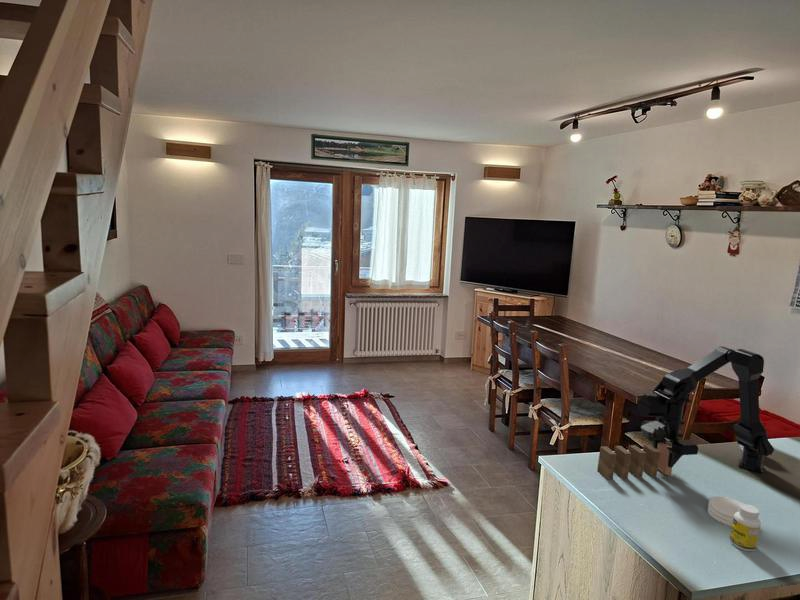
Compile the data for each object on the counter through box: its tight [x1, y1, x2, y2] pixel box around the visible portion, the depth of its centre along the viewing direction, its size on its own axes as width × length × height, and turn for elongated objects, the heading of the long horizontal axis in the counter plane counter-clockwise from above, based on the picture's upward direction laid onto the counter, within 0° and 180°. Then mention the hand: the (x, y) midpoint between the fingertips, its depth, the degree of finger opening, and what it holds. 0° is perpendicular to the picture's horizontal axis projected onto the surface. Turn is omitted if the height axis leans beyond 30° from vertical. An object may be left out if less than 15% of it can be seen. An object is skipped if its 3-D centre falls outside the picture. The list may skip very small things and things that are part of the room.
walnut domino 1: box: [596, 445, 616, 480], centre depth 154 cm, size 2×5×8 cm, turn 12°
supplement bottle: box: [729, 503, 762, 552], centre depth 123 cm, size 5×5×10 cm
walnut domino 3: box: [628, 444, 646, 478], centre depth 156 cm, size 2×5×8 cm, turn 12°
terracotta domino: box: [657, 443, 673, 475], centre depth 158 cm, size 2×5×8 cm, turn 12°
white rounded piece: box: [706, 495, 744, 528], centre depth 135 cm, size 10×10×4 cm
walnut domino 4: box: [642, 444, 660, 478], centre depth 157 cm, size 2×5×8 cm, turn 12°
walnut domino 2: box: [613, 445, 631, 479], centre depth 155 cm, size 2×5×8 cm, turn 12°
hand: (663, 462), depth 158 cm, fingers open, 5 cm apart
